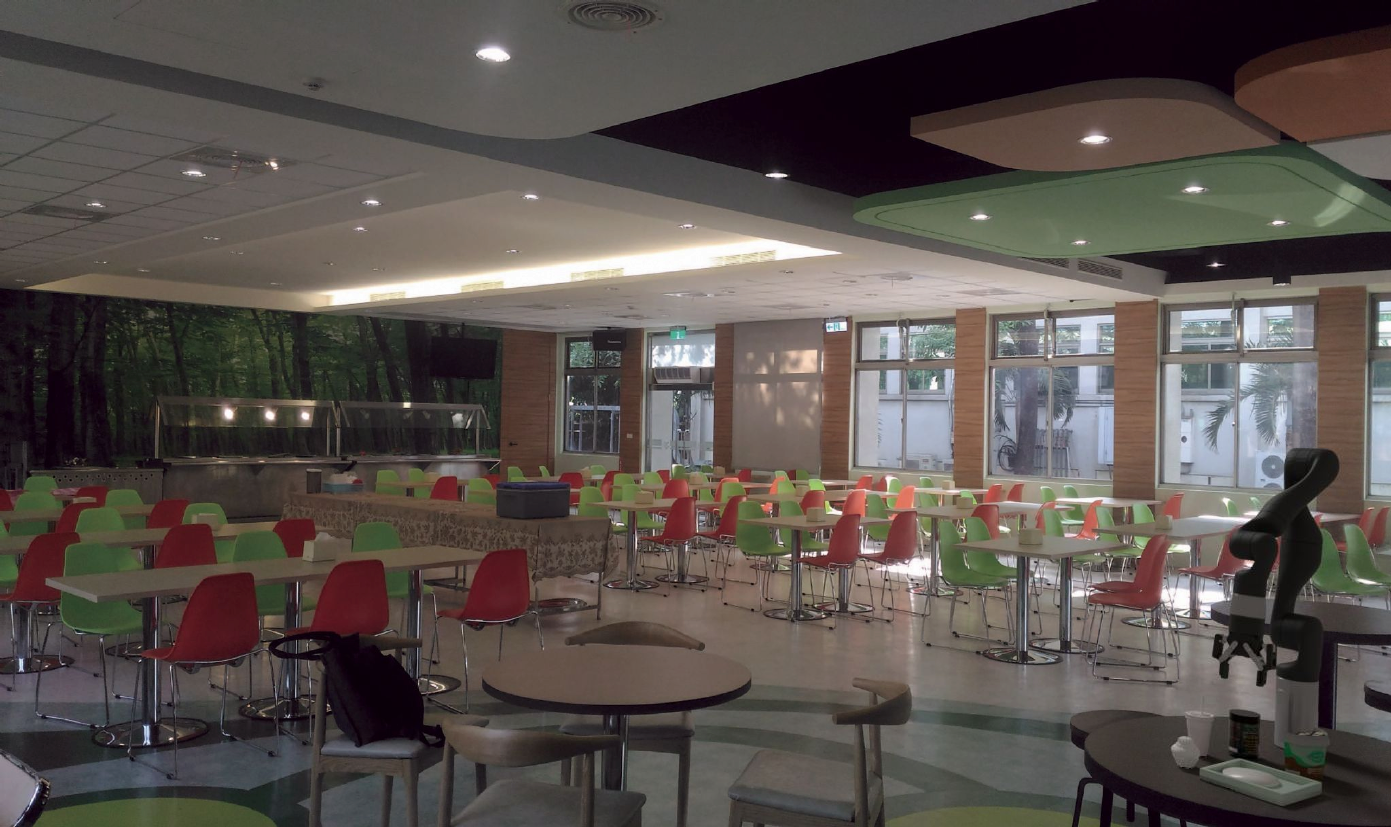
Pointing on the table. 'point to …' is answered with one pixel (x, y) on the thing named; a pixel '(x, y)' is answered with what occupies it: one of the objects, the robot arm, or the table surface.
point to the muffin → (1185, 752)
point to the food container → (1306, 753)
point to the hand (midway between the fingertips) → (1241, 682)
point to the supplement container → (1244, 734)
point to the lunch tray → (1261, 781)
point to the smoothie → (1200, 727)
